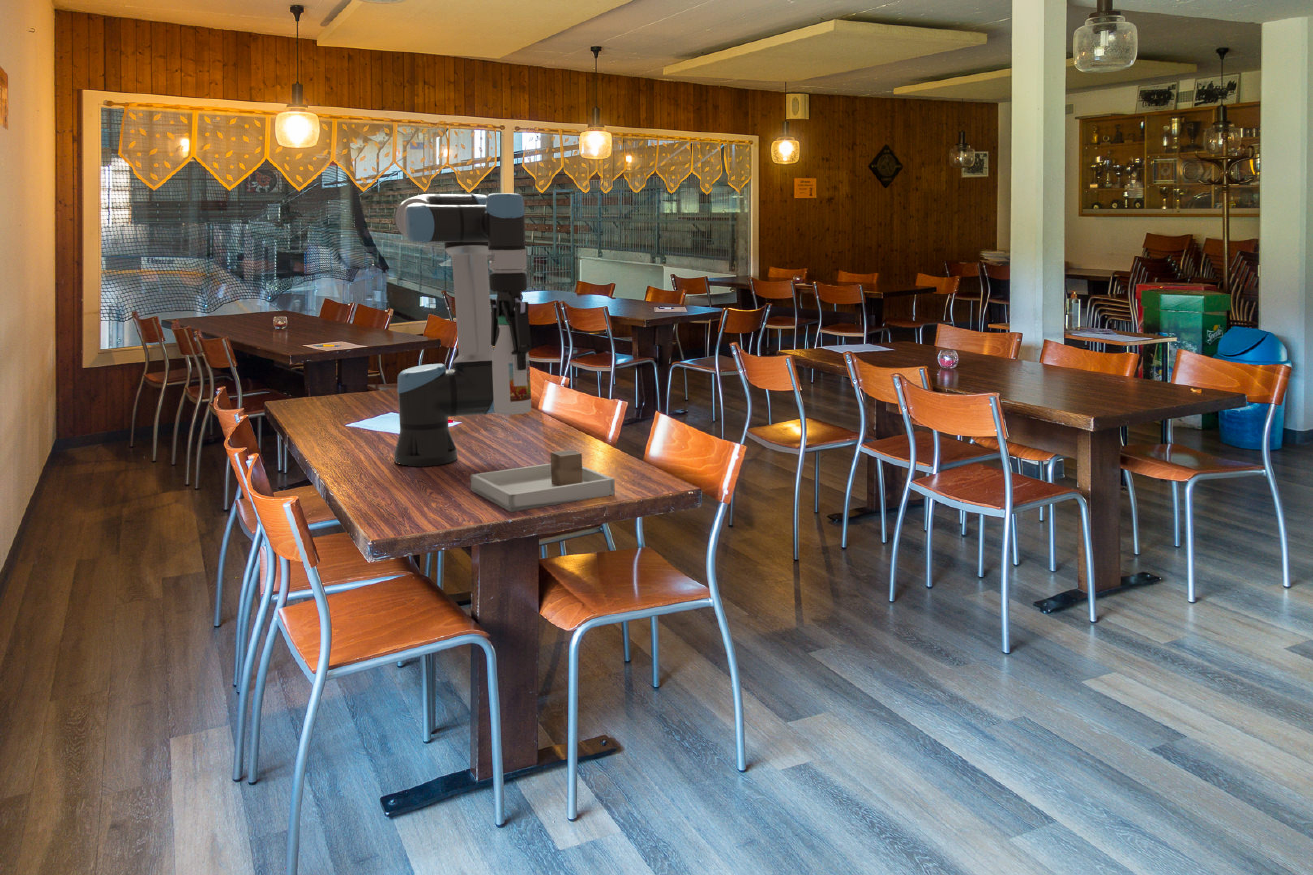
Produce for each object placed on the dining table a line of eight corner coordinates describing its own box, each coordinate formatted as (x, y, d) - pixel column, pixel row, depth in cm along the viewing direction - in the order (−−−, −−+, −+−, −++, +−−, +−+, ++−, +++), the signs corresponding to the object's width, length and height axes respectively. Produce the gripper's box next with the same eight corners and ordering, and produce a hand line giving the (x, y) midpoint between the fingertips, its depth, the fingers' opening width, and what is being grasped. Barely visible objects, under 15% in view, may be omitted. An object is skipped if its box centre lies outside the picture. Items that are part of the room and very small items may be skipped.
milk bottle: (496, 416, 204) (492, 318, 200) (492, 410, 212) (488, 315, 208) (534, 414, 207) (530, 316, 203) (528, 408, 214) (525, 314, 210)
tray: (471, 490, 218) (470, 474, 218) (569, 475, 231) (569, 460, 230) (510, 512, 201) (510, 495, 200) (614, 494, 213) (614, 478, 213)
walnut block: (551, 483, 220) (550, 452, 218) (571, 480, 222) (571, 449, 221) (561, 488, 215) (561, 456, 214) (582, 484, 218) (581, 453, 217)
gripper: (471, 270, 210) (476, 379, 214) (511, 273, 193) (515, 391, 197) (504, 269, 214) (508, 376, 218) (546, 272, 197) (550, 387, 201)
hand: (512, 383), depth 208 cm, fingers closed on milk bottle, 7 cm apart
